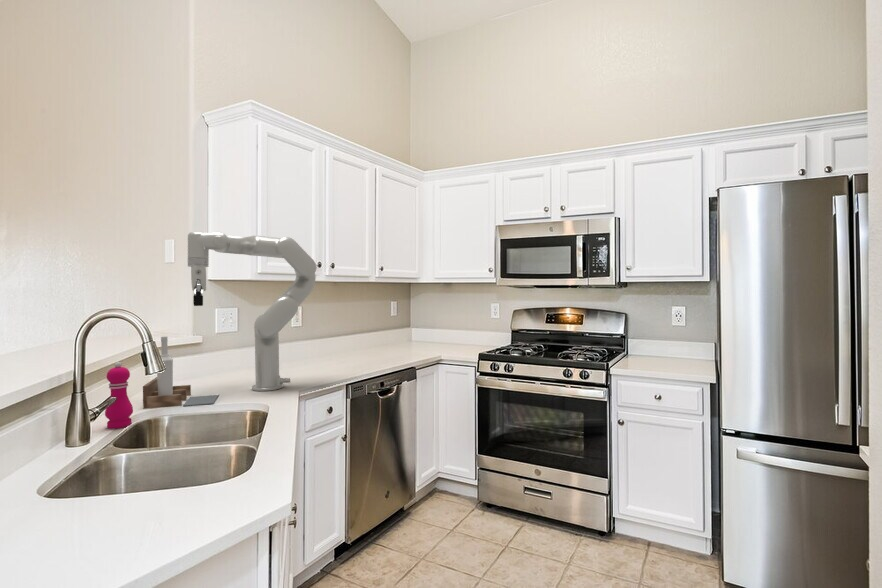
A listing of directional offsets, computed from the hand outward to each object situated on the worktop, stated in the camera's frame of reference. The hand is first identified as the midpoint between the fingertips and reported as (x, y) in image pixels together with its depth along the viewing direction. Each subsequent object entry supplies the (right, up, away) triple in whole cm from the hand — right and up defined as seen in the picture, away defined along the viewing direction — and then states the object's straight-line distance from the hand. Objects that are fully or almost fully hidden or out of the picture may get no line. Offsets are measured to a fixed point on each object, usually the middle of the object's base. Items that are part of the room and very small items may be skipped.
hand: (198, 305), depth 189 cm
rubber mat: (+7, -36, -11) cm, 38 cm away
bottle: (-4, -36, -15) cm, 40 cm away
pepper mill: (-2, -37, -43) cm, 56 cm away
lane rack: (-5, -36, -11) cm, 38 cm away
